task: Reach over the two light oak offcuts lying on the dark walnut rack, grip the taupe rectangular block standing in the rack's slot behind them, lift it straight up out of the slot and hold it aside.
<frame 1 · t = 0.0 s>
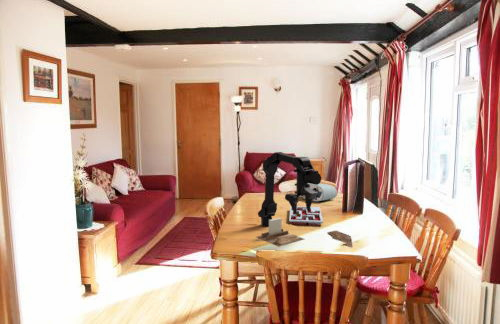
hand: (301, 211, 183), 15 cm above the table, tool pointing down, fingers open, 9 cm apart
taupe rectangular block: (275, 236, 188), point 1 cm above the table, touching walnut rack
upper oak offcut: (286, 238, 180), point 2 cm above the table, touching lower oak offcut
maze game: (305, 218, 227), on the table
walnut rack: (280, 239, 185), on the table
wooden fragment: (341, 239, 186), on the table
lower oak offcut: (287, 240, 180), point 1 cm above the table, touching upper oak offcut, walnut rack
grey rounded oval block: (318, 199, 279), on the table
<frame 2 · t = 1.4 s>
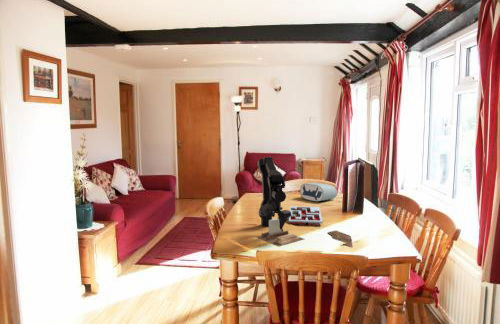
hand: (275, 227, 187), 6 cm above the table, tool pointing down, fingers open, 9 cm apart
nothing on the table moved.
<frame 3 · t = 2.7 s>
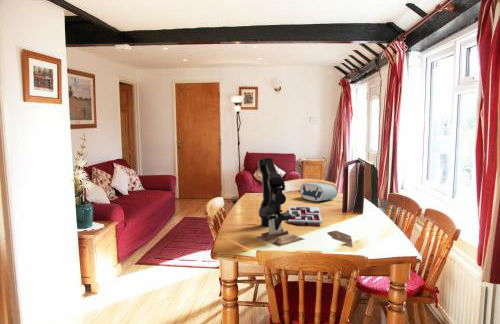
hand: (275, 229, 187), 5 cm above the table, tool pointing down, fingers closed on taupe rectangular block, 2 cm apart
taupe rectangular block: (275, 236, 188), point 1 cm above the table, touching gripper, walnut rack
everything else where it was.
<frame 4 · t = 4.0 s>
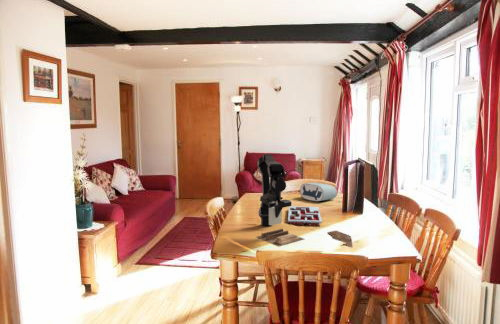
hand: (275, 217, 186), 11 cm above the table, tool pointing down, fingers closed on taupe rectangular block
taupe rectangular block: (275, 224, 187), point 8 cm above the table, touching gripper
everything else where it was.
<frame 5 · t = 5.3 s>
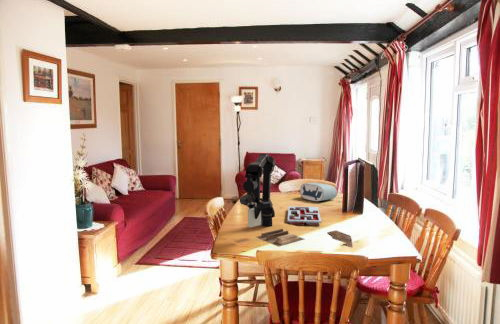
hand: (254, 218, 184), 11 cm above the table, tool pointing down, fingers closed on taupe rectangular block
taupe rectangular block: (254, 225, 184), point 7 cm above the table, touching gripper
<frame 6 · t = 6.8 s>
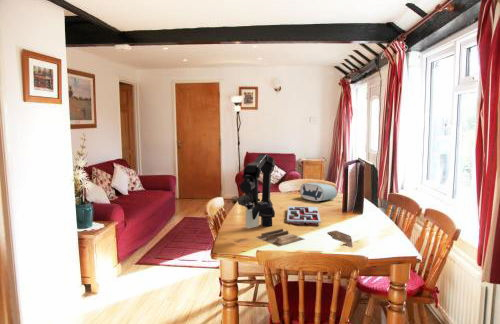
hand: (252, 218, 184), 11 cm above the table, tool pointing down, fingers closed on taupe rectangular block
taupe rectangular block: (252, 226, 184), point 7 cm above the table, touching gripper
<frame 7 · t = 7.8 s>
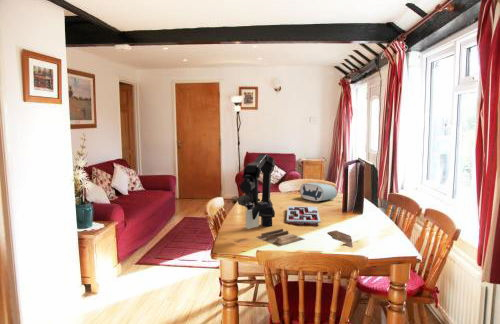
hand: (252, 218, 184), 11 cm above the table, tool pointing down, fingers closed on taupe rectangular block
taupe rectangular block: (252, 227, 184), point 7 cm above the table, touching gripper
at the end: the gripper is holding taupe rectangular block; taupe rectangular block inside the target area (0.1 cm from its centre), point 6.7 cm above the table; upper oak offcut moved 0.0 cm from its start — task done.
